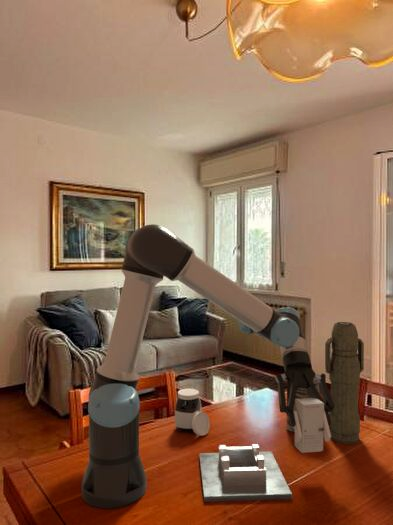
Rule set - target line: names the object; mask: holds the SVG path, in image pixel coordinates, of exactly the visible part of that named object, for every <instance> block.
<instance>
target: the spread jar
mask: <svg viewBox="0 0 393 525" xmlns="http://www.w3.org/2000/svg"><path fill="white" fill-rule="evenodd" d="M210 422H211V421H210V419H209V416H208V415H207V413H206V412H204V411H202V400H201V398H200V392H199V390H197V389H195V388H183V389H179V390H178V391H177V399H176V402H175V406H174V425H175V428H176V429H177V430H178V431H180V432H183V433H193V432H194V434H196V435H197V436H200V437H202V436H206V435H207V434H208V432H209V431H210V426H211V423H210Z"/></svg>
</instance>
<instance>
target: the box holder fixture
mask: <svg viewBox="0 0 393 525" xmlns="http://www.w3.org/2000/svg"><path fill="white" fill-rule="evenodd" d="M198 454H199V455H198V457H199V458H198V460H199V467H200V474H201V475H200V476H201V486H202V495H203V501H204V502H205V503H208V502H209V503H212V502H238V501H239V502H240V501H241V502H243V501H244V502H245V501H270V500H271V501H272V500H273V501H274V500H292V499H293V495H292V494H293V493H292V490H290V487H289V486H288V483H287V481H286V479H285V477H284V475H283V473H282V471H281V469H280V467H279V464H278V462H277V461H276V458H275V457H274V454H273V451H260V446H259V444H258V443H252V444H251V445H250V446H248V445H247V446H226V444H219V446H218V452H202V453H201V452H200V453H198Z"/></svg>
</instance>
